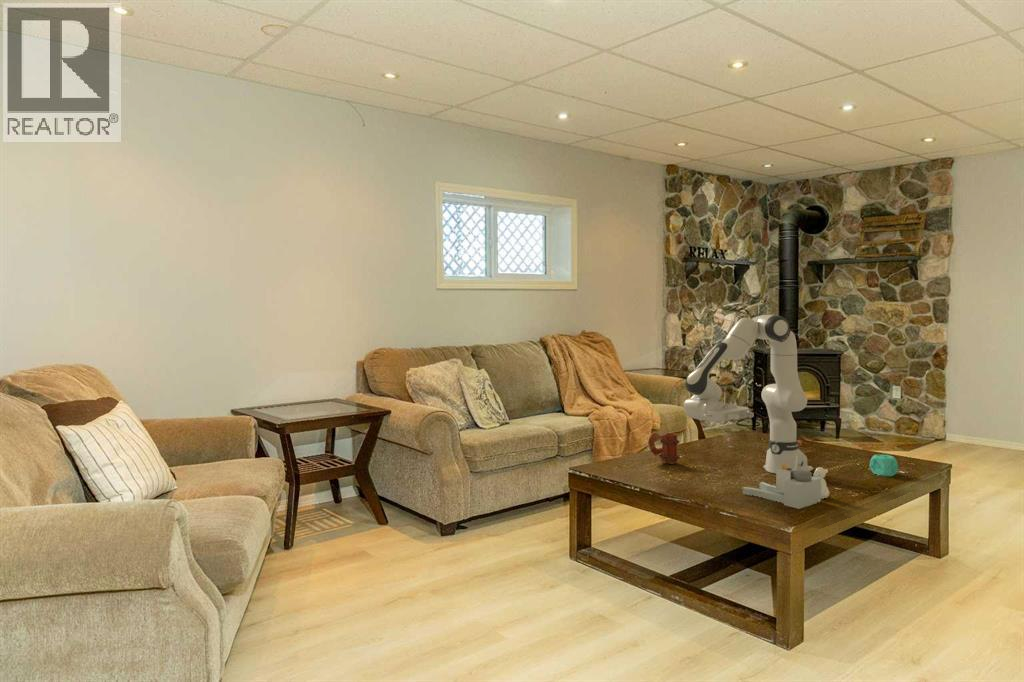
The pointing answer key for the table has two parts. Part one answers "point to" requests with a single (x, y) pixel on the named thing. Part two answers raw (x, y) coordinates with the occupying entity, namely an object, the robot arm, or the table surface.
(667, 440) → the mug
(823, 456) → the table surface
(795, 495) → the bracket
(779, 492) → the block
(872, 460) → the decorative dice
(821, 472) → the white creature statuette
